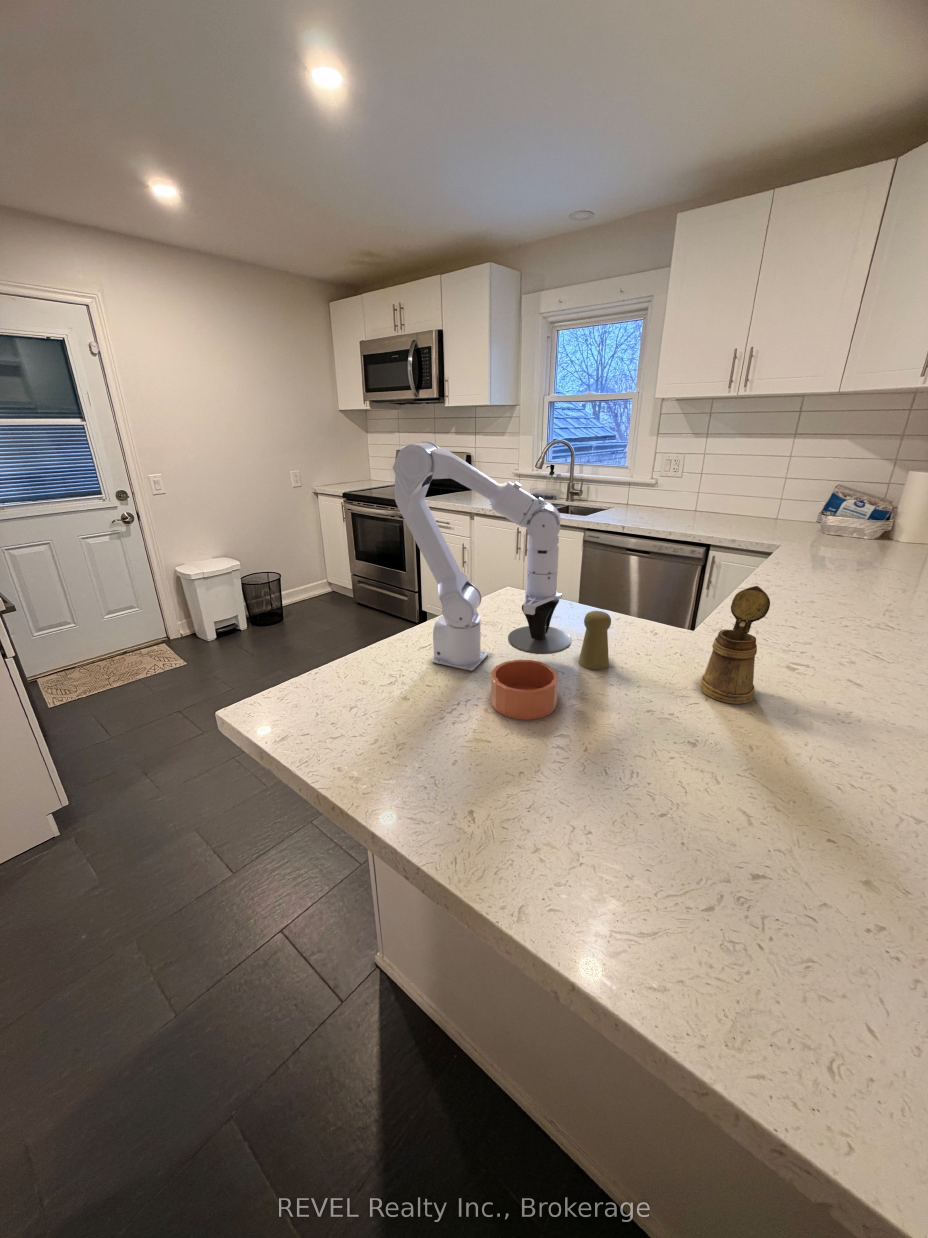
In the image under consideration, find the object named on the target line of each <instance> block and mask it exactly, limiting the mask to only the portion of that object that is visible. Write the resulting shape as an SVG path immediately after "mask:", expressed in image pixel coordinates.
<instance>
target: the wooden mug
mask: <svg viewBox="0 0 928 1238" xmlns="http://www.w3.org/2000/svg"><path fill="white" fill-rule="evenodd" d="M770 607H771V600H770V597H769V595H768V593H767V592H766V591H764V590H763V589H762V588H761V587H759V586H758V585H754V586H750V587H748V588H745V589H743V590H740V591H738V592H736V593H735V595H734V597H733V598H732V602H731V605H730V612H731V614H732V616H733V617H734V619H735V623H734V625H733V628H732V629H721V630H719V632H718V633H717V636H716V637H715V638H714V639H713V643H712V645H711V648H712V651H711V654H710V656H709V659H708V663H707V665H706V667H705V670H704V673H703V674H702V676H701V679H700V683H699V688H700V690H701V692H702V693H704V694H705V695H706V696H708V697H710V698H712V699H714V700H716V701H719V702H723V703H727V704H738V705H740V704H747V703H750V702H752V701H753V699H754V697H755V695H754V694H755V685H754V676H755V675H754V674H755V659H756V655H757V653H758V644H757V637H756V636H755V635H752V634H750V630H751V628H752V624H753V623H754V622H757V621H759V620H761V619H764V618H765V617H766V615H767V614H768V613H769V611H770Z"/></svg>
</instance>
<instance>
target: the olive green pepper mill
mask: <svg viewBox="0 0 928 1238" xmlns="http://www.w3.org/2000/svg"><path fill="white" fill-rule="evenodd" d="M583 621H584V622H583V624H584V627H585V632H584V637H583V641H582V645H581V649H580V654H579V659H578V664H579V665H580V666H582V668H583V667H584V668H585V669H589V670H604V669H606V668H608V667H609V665H610V662H609V661H610V660H609V659H610V658H609V638H608V637H609V635H608V634H609V633H608V630H609V629H610V627H611V625H612V618H611V616H610V614H608V612H605V611H602V610H592V611H589V612H587V613H586V614H585V616H584V619H583Z"/></svg>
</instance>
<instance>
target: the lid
mask: <svg viewBox="0 0 928 1238" xmlns="http://www.w3.org/2000/svg"><path fill="white" fill-rule="evenodd" d="M507 642H508V644H509V645H510V646H511V647H512V648H514V649H516V650H517V651H520V652H523V653H527V654H532V655H553V654H558V653H561V652H564V651H566V650H567V649H569V648H570V647H571V645H572V642H573V641H572V637H571V635H570V634H569V633H568V632H566V631H564V630H562V629H560V628H557V627H552V626H549V629H548V632H547V634H546V626H545V631H544V636H543V638H542V640H538V639H532V638H531V634H530V629H529V625H526V626H521V627H518V628H515V629H513V630H511V631H510V632H509V633H508V635H507Z"/></svg>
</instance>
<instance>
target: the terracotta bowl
mask: <svg viewBox="0 0 928 1238" xmlns="http://www.w3.org/2000/svg"><path fill="white" fill-rule="evenodd" d="M490 672H491V676H490V695H491V696H490V702H491V705H492V707H493V708H494V709H495V711H496V712H498V713H499V714H502V715H503V716H505V717H508V718H511V719H515V720H523V721H524V720H526V721H527V720H537V719H542V718H544V717H546V716H548V715H551V714H552V713H553V712H554V711H555V709H556V707H557V704H558V693H559V675H558V671H557V670H556V669H554V668H553V667H552V666H551V665H548V664H546V663H544V662H541V661H537V660H532V659H513V660H508V661H504V662H501V663H498V664H497V665H495V667H494V668H493V669H492V670H491V671H490Z"/></svg>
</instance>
